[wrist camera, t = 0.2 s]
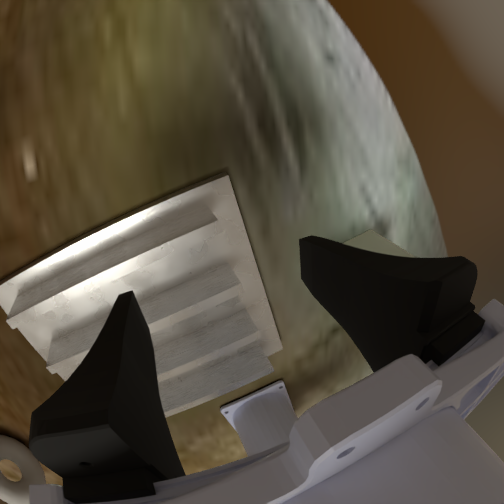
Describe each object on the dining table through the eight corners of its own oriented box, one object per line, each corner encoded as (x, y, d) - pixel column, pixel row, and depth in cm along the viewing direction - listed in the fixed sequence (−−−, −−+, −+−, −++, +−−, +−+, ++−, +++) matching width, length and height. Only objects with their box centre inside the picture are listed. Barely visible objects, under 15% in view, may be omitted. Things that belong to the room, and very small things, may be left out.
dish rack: (278, 342, 30) (296, 369, 27) (108, 413, 27) (110, 443, 23) (224, 172, 21) (243, 185, 17) (-6, 284, 17) (-22, 314, 14)
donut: (48, 448, 26) (51, 514, 18) (41, 456, 26) (44, 517, 18) (-18, 417, 21) (-27, 484, 12) (-22, 426, 21) (-29, 490, 13)
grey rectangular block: (371, 246, 29) (428, 285, 22) (304, 280, 28) (355, 334, 21) (370, 229, 28) (430, 267, 21) (300, 263, 27) (354, 316, 20)
